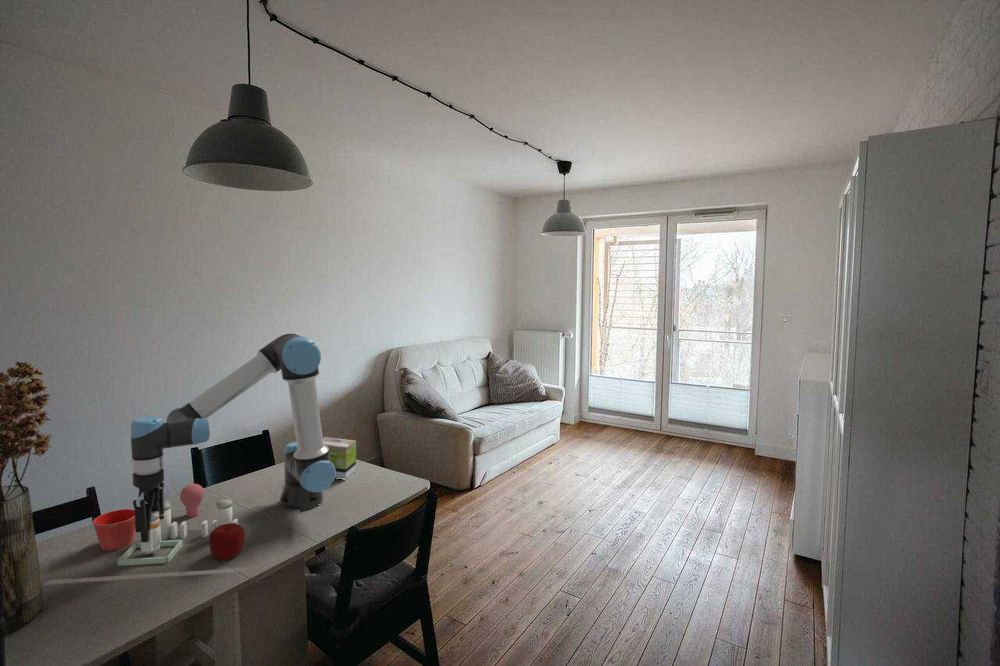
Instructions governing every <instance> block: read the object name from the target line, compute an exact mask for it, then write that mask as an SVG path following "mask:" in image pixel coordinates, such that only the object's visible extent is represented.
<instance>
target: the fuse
mask: <svg viewBox="0 0 1000 666" xmlns="http://www.w3.org/2000/svg"><path fill="white" fill-rule="evenodd" d="M171 504H172V503H171V501H168V500H165V501H164V514H163V515H161V516H164V519H160V524H161V541H165V540H168V539H170V538H171V532H170V525H171V524H172V513H171V511H172V509H171V508H172V507H171V506H172V505H171ZM160 511H161V510H160Z"/></svg>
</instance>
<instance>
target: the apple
mask: <svg viewBox="0 0 1000 666" xmlns="http://www.w3.org/2000/svg"><path fill="white" fill-rule="evenodd" d="M245 535H246V532H245V530H244V527H243V526H241V525H240V524H239V523H238V524H235V523H229V524H224V525H221V526H218V527H216V528H215V529H214V530H213V531H212V532H211V534H210V536H209V542H208V546H209V549H210V552H211V554H212V556H213V557H214V558H215V559H216V560H218V561H228V560H232V559H233V558H235V557H237V556H238V555H239V554H240V552H241V551H242V548H243V547H244V544H245V539H246V536H245Z"/></svg>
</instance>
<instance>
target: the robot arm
mask: <svg viewBox="0 0 1000 666" xmlns="http://www.w3.org/2000/svg"><path fill="white" fill-rule="evenodd" d="M321 361H322V354H321V349H320V348H319V346H318V345H317V344H316V343H315V342H314V341H313V340H312V339H310V338H308V337H305V336H301V335H298V334H296V333H285V334H281V335H280V336H278V337H276V338H275V339H273V340H272V341H270V342H269V343H268V344H266V345H264V346H263V347H262V348H260V349H259V350H258V351H257V352H256V355H255V356H254V357H253V358H251V359H250V360H248V361H247V362H246V363H244V364H242V365H241V366H240V367H238V368H236V369H235V370H234V371H232V372H231V373H229V374H228V375H227V376H225V377H224V378H222V379H221V380H219V381H218V382H217V383H215V384H214V385H212V386H210V387H209V388H208V389H207V390H205V391H204V392H202V393H201V394H199V395H198V396H196V397H194V398H193V399H192V400H191V401H189V402H188V403H186V404H184V405H183V406H181V407H176V408H174V409H171V411H170V412H169V413H168V414H167V416H166V422H164V421H163V420H162V418H161V417H160V416H155V415H153V416H142V417H138V418H136V419H134V420H133V421H132V422H131V423H130V447H131V448H130V450H131V460H130V463H131V465H132V472H133V473H132V486H133V487H135V488H137V489H138V496H137V497H138V499H134V500H133V501H132V503H133V504H132V505H133V507H134V508H133V510H135V529H136V530H135V533H140V534H139V535H140V542H141V548H140V550H141V551H140V552H141V553H142V552H148V551H152V550H153V542H152V529H150V523H151V511H158V512H159V519H164V516H161V515H163V514H164V500H165V499H164V496H165V495H164V490H165V489H164V488H165V483H164V481H165V469H164V467H165V464H164V462H165V461H164V449H170V448H177V447H184V446H191V445H199V444H202V443H206V442H208V441H209V440H210V423H209V420H208V418H210V417H211V416H212V415H214V414H216V413H217V412H218V411H219V410H221V409H222V408H224V407H225V406H227V405H228V404H229V403H231V402H232V401H234V400H235V399H236V398H238V397H239V396H240V395H242V394H243V393H245V392H246V391H247V390H249V389H251V388H252V387H253V386H254V385H256V384H258V383H259V382H260V381H261V380H263V379H264V378H265V377H267V376H269V375H270V374H276V373H278V372H280V371H281V376H282V380H283V381H285V382H286V383H287V384H288V392H289V399H290V406H291V412H292V419H293V420H292V421H293V427H294V428H293V429H294V435H295V439H296V440H295V441H292V442H290V443H287V444H286V445H285V446H284V453H283V456H284V486H283V488H282V491H281V493H280V494H281V495H280V498H279V506H281V507H283V508H286V509H290V510H298V509H299V511H300V510H301V511H306V510H305V509H307V510H310V509H309V508H311V509H313V508H312V507H314V506H316V505H318V504H320V503H321V502H322V500H323V501H324V494H323V493H324V492H323V491H324V490H326V489H328V488H329V487H330V486H331V484H332V483H333V482H334V481H335V480H336V479H335V475H336V470H335V467H334V465H333V463H332V462H331V461H330V454H329V448H328V446H326V445H324V444H323V438H324V437H323V431H322V430H323V429H322V423H321V414H320V406H319V399H318V393H317V391H318V390H317V384H316V378H317V377H318V376H319V375H320V372H319V371H320V370H319V365H320V363H321ZM322 503H323V502H322ZM322 503H321V504H322ZM321 504H320V505H321ZM318 506H319V505H318ZM316 507H317V506H316ZM314 508H315V507H314ZM160 510H161V511H160ZM159 528H160V541H161V524H160V525H159Z"/></svg>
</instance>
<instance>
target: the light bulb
mask: <svg viewBox="0 0 1000 666" xmlns="http://www.w3.org/2000/svg"><path fill="white" fill-rule="evenodd" d="M204 497H205V489H204V488H203V486H202V485H200V484H198V483H190V484H187V485H186V486H184V487H183V488H182V489H181V491H180V494H179V498H180V501H181V503H182V505H183V506H184V507H185V511H186V516H187V517H189V518H194V517H197V516H199V514H200V504H201V503H202V501H203V498H204Z"/></svg>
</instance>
